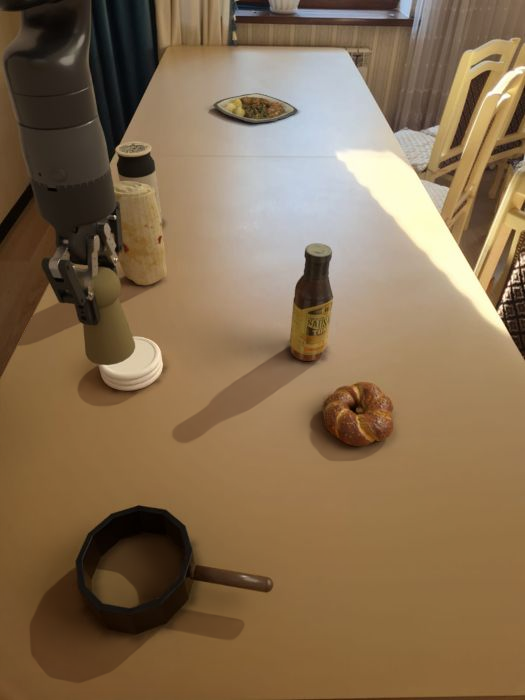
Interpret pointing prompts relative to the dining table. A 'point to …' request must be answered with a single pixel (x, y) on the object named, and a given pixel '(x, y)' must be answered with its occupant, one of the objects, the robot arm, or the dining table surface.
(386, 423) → the pretzel
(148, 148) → the travel mug
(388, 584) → the dining table surface
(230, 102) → the meal
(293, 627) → the dining table surface
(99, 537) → the pan
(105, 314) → the olive green pawn
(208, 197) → the dining table surface
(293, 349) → the sauce bottle
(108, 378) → the coaster
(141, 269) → the food model
